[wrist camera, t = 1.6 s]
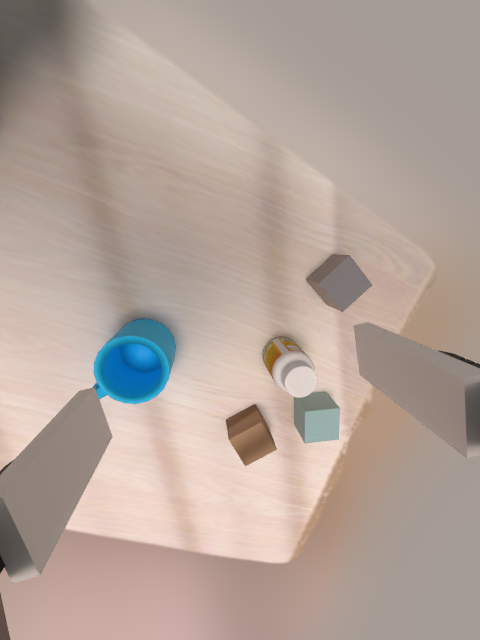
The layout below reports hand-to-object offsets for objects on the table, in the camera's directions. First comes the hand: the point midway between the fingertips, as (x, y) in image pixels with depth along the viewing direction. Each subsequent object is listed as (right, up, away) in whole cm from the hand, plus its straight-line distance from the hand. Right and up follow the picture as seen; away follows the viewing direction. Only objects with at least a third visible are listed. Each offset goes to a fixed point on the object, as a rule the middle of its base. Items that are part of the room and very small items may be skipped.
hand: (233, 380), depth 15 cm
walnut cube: (+2, -13, +31) cm, 34 cm away
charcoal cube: (+13, +9, +27) cm, 31 cm away
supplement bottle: (+6, -2, +29) cm, 30 cm away
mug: (-14, -2, +26) cm, 30 cm away
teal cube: (+11, -11, +32) cm, 35 cm away
